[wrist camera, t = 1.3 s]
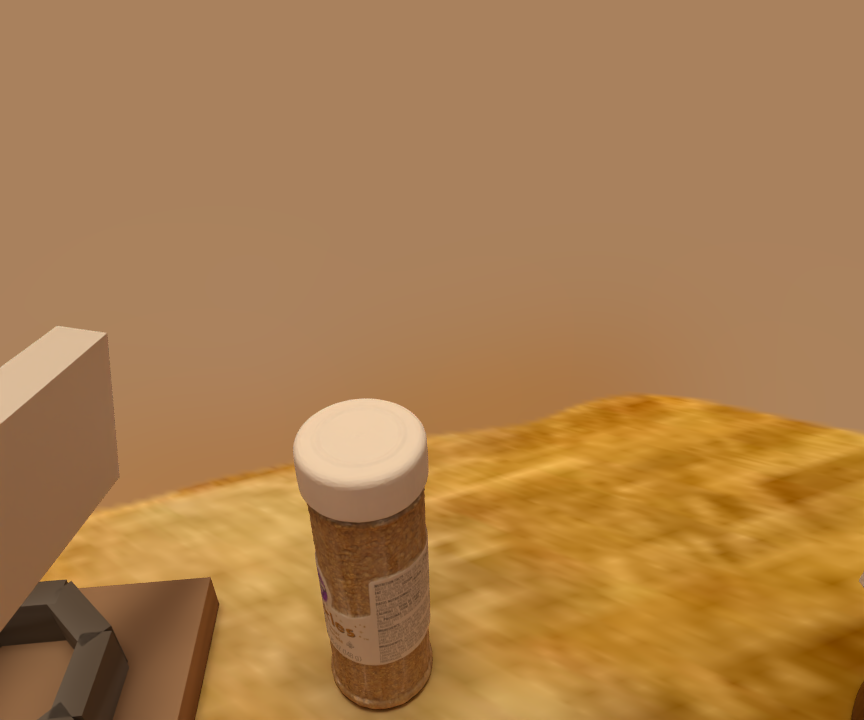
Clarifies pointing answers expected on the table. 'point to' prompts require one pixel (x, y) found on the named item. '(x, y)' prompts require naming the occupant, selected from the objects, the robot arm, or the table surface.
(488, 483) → the table surface
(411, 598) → the sprinkles bottle
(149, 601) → the carrier board
